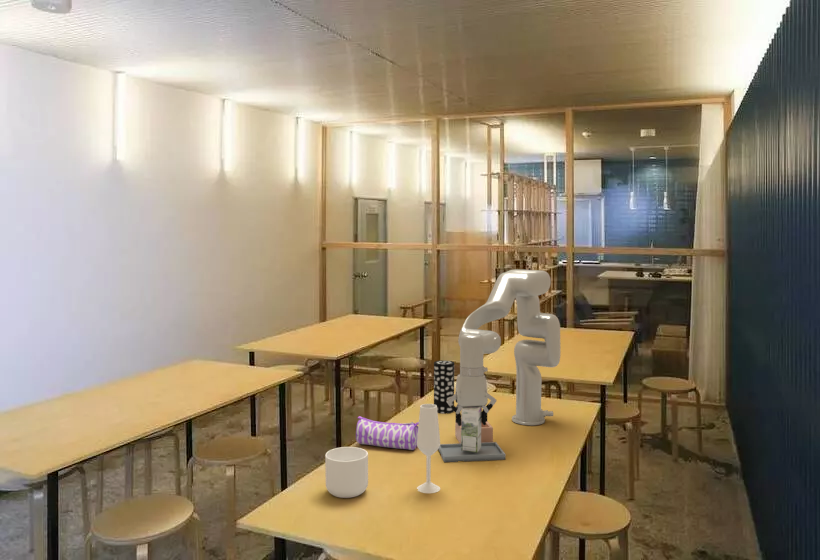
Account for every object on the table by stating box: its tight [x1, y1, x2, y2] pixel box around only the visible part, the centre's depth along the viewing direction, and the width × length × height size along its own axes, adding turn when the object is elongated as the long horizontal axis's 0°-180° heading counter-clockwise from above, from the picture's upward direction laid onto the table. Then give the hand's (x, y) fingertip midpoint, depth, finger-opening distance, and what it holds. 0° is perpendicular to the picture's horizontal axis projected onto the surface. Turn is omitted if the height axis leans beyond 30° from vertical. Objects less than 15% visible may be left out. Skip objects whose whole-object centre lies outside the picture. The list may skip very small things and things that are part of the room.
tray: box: [437, 441, 507, 463], centre depth 211 cm, size 20×12×2 cm, turn 97°
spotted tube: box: [433, 360, 455, 415], centre depth 262 cm, size 8×8×20 cm
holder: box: [454, 418, 494, 444], centre depth 225 cm, size 11×11×6 cm
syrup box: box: [460, 406, 483, 453], centre depth 210 cm, size 6×6×14 cm
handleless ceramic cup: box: [324, 446, 369, 499], centre depth 180 cm, size 12×12×11 cm
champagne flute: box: [416, 403, 441, 494], centre depth 182 cm, size 7×7×24 cm
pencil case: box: [355, 415, 419, 451], centre depth 219 cm, size 22×9×10 cm, turn 76°
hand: (471, 424), depth 210 cm, fingers open, 7 cm apart
